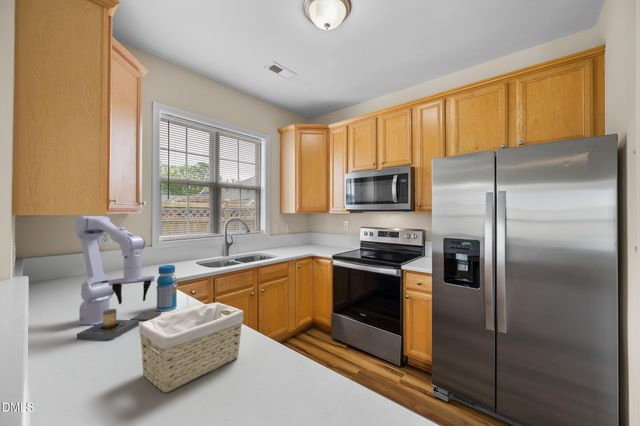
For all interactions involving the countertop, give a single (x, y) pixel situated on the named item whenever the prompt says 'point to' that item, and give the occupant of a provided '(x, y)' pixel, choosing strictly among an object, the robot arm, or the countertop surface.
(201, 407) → the countertop surface
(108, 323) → the cylindrical knob
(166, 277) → the blue bottle
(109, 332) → the housing
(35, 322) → the countertop surface
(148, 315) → the mat
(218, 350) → the storage basket
